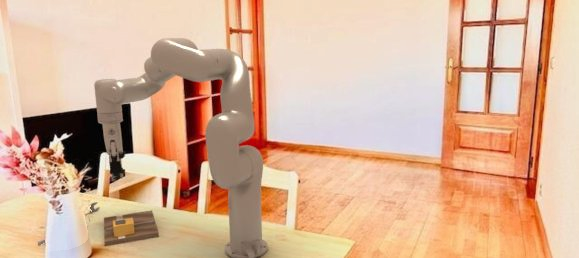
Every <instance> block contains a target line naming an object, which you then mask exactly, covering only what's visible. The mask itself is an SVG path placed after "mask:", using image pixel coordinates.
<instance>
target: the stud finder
mask: <svg viewBox="0 0 579 258" xmlns="http://www.w3.org/2000/svg"><path fill="white" fill-rule="evenodd" d="M113 230H114V237H119V236H125V235H130V234H135V232H134V222H133V218H127V219H121V220H114V221H113Z"/></svg>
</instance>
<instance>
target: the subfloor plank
mask: <svg viewBox="0 0 579 258" xmlns="http://www.w3.org/2000/svg"><path fill="white" fill-rule="evenodd" d="M127 218H133V222H134V232H135V234H130V235H125V236H119V237H114V230H113V221H114V220H121V219H127ZM158 229H159V228H158V226H157V222H156V219H155V215H154V213H153V210H151V209H150V210H144V211H139V212H132V213H125V214H117V215H111V216H105V217H103V231H104V232H103V236H104V237H103V241H104V242H103V243H104V247H107V246H113V245H118V244H125V243H130V242H136V241H140V240H142V241H143V240H147V239H154V238H159V236H160V235H159V230H158Z"/></svg>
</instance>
